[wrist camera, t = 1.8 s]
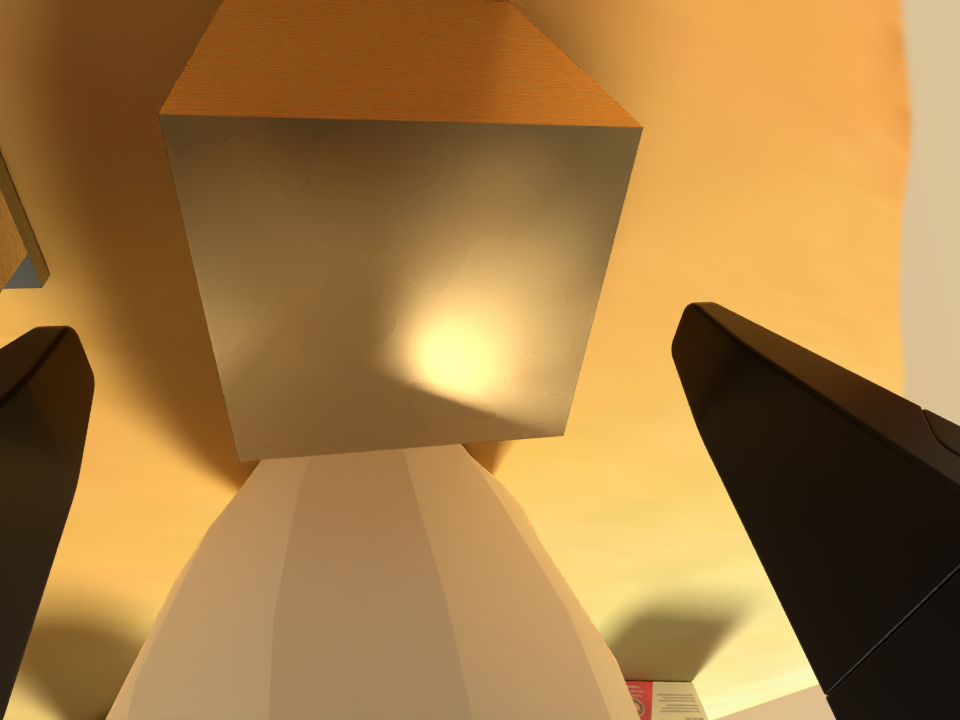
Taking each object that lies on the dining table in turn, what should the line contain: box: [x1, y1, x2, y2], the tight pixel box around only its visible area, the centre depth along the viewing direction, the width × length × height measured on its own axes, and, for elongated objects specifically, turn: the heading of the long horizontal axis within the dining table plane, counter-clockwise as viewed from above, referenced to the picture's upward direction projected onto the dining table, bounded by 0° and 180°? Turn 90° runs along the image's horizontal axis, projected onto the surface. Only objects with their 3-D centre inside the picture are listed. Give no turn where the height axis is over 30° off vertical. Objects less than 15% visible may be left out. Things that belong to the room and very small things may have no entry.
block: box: [158, 0, 643, 462], centre depth 13 cm, size 6×6×8 cm
